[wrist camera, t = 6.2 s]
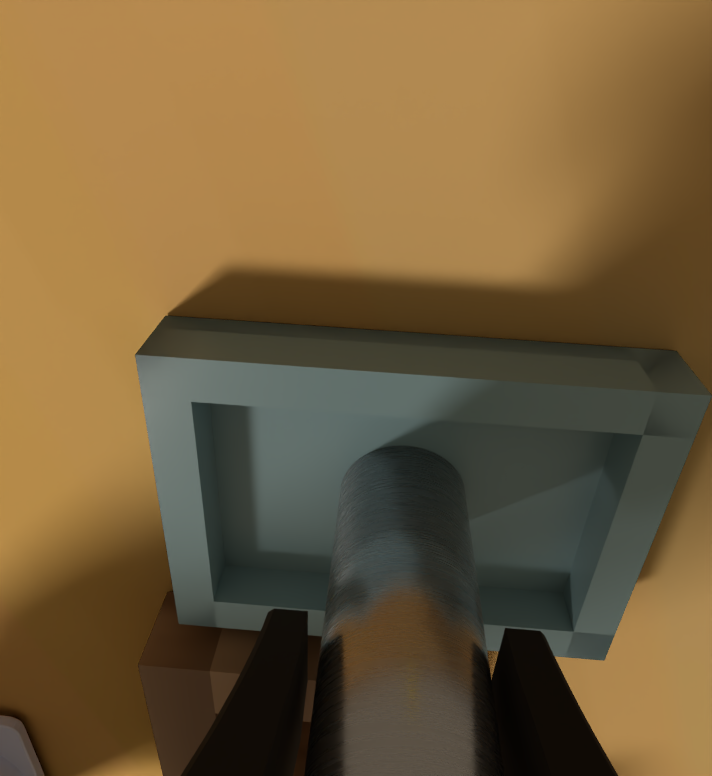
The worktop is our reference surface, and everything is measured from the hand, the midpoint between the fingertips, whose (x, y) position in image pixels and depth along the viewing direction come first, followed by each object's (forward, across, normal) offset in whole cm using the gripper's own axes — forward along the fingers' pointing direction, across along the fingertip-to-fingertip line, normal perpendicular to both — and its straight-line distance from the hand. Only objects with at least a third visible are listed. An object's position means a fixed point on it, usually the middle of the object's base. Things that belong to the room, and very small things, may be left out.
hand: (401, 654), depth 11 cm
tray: (+5, 0, 0) cm, 5 cm away
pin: (+4, 0, 0) cm, 4 cm away
